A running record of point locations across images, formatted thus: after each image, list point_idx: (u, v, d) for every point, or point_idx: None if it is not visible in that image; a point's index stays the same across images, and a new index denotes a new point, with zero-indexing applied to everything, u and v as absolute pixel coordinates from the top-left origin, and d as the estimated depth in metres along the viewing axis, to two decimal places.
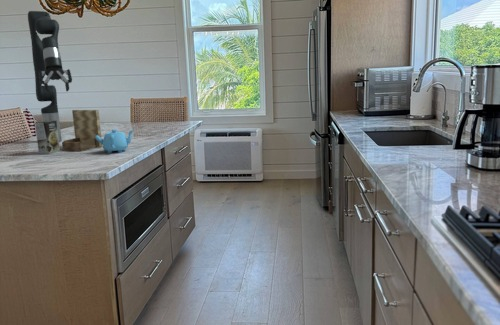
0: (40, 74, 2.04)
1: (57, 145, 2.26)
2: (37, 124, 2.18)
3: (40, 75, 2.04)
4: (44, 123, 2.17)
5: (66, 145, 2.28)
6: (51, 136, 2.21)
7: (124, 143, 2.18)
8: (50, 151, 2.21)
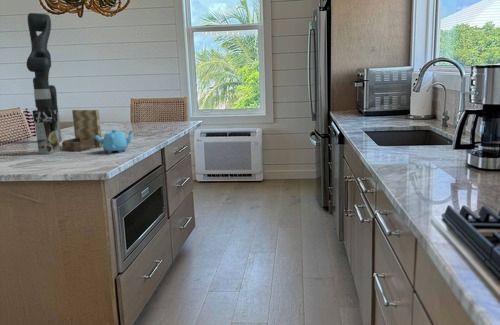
0: (33, 114, 2.22)
1: (57, 145, 2.26)
2: (37, 124, 2.18)
3: (33, 115, 2.22)
4: (44, 123, 2.17)
5: (66, 145, 2.28)
6: (51, 136, 2.21)
7: (124, 143, 2.18)
8: (50, 151, 2.21)
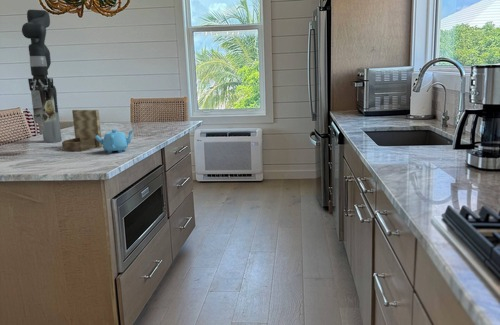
0: (29, 83, 2.19)
1: (53, 114, 2.23)
2: (33, 92, 2.15)
3: (29, 84, 2.19)
4: (40, 91, 2.14)
5: (66, 145, 2.28)
6: (47, 104, 2.18)
7: (124, 143, 2.18)
8: (46, 120, 2.18)
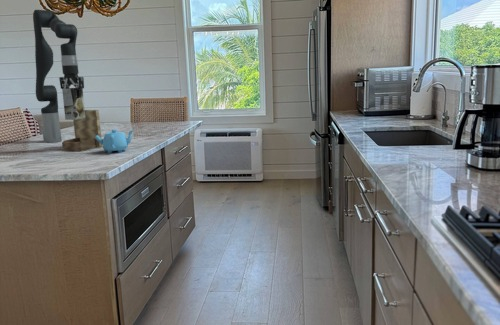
0: (60, 81, 2.26)
1: (83, 112, 2.31)
2: (64, 90, 2.22)
3: (60, 82, 2.26)
4: (71, 89, 2.22)
5: (66, 145, 2.28)
6: (77, 102, 2.25)
7: (124, 143, 2.18)
8: (76, 117, 2.25)
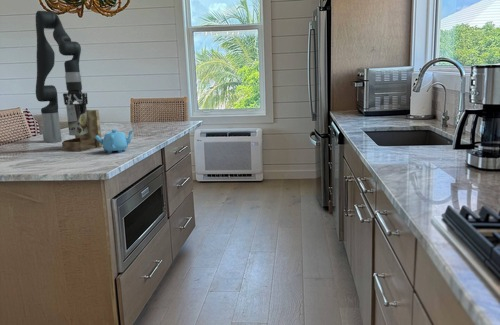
0: (64, 97, 2.29)
1: (86, 127, 2.33)
2: (68, 106, 2.25)
3: (64, 98, 2.29)
4: (75, 105, 2.24)
5: (66, 145, 2.28)
6: (81, 118, 2.28)
7: (124, 143, 2.18)
8: (80, 133, 2.28)
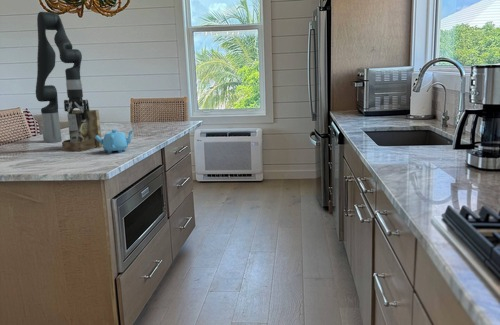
0: (65, 104, 2.30)
1: (87, 136, 2.34)
2: (69, 115, 2.26)
3: (65, 105, 2.30)
4: (76, 114, 2.25)
5: (66, 145, 2.28)
6: (82, 127, 2.29)
7: (124, 143, 2.18)
8: None
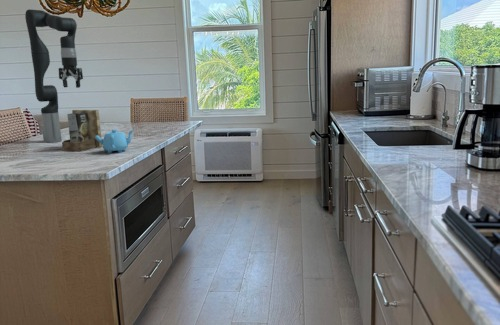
0: (59, 72, 2.36)
1: (87, 136, 2.34)
2: (69, 115, 2.26)
3: (59, 72, 2.36)
4: (76, 114, 2.25)
5: (66, 145, 2.28)
6: (82, 127, 2.29)
7: (124, 143, 2.18)
8: None
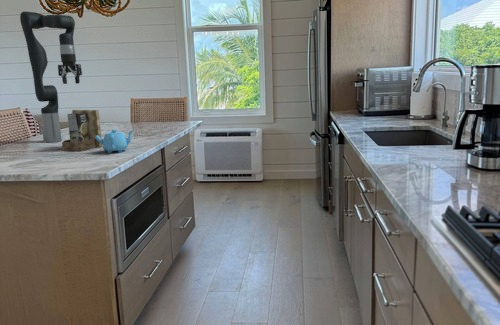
0: (58, 68, 2.41)
1: (87, 136, 2.34)
2: (69, 115, 2.26)
3: (58, 69, 2.41)
4: (76, 114, 2.25)
5: (66, 145, 2.28)
6: (82, 127, 2.29)
7: (124, 143, 2.18)
8: None
